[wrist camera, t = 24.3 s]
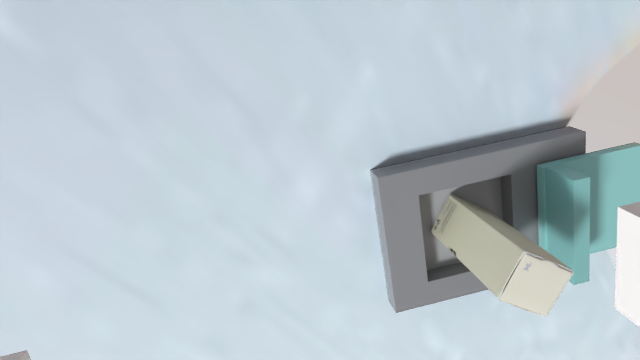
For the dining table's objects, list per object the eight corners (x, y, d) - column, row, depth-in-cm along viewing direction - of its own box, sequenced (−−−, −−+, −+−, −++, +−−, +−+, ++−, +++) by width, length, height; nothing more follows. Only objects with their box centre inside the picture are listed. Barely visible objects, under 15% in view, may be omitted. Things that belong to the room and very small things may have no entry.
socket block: (388, 299, 53) (396, 312, 50) (370, 170, 48) (377, 177, 46) (569, 254, 55) (584, 264, 53) (569, 126, 50) (585, 131, 48)
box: (428, 231, 51) (493, 300, 39) (449, 191, 50) (523, 249, 38) (472, 248, 52) (547, 320, 40) (493, 210, 51) (577, 271, 39)
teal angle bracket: (539, 260, 51) (571, 285, 47) (536, 164, 48) (570, 181, 43) (630, 237, 52) (671, 259, 48) (634, 142, 49) (678, 156, 44)
